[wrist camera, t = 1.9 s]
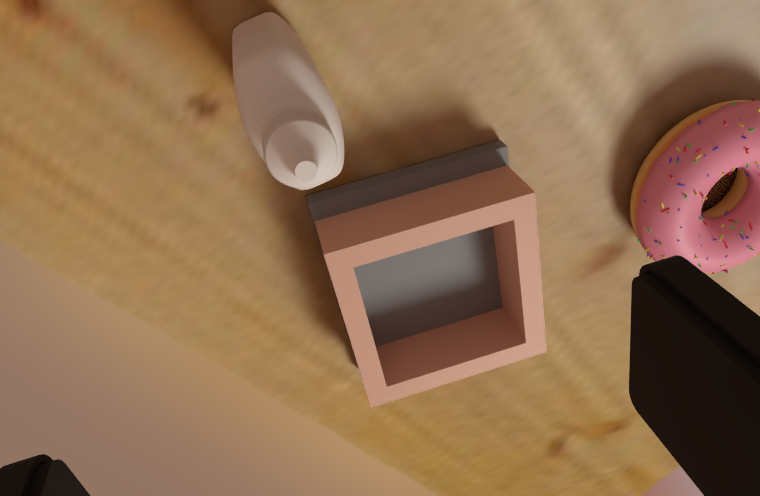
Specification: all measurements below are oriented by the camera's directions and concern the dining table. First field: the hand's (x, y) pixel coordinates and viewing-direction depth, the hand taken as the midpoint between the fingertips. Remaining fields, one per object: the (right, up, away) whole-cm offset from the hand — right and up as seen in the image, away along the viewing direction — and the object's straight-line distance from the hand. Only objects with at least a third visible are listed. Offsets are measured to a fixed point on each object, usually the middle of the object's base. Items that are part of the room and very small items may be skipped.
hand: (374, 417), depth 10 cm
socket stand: (+3, +2, +26) cm, 26 cm away
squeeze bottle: (-5, +11, +19) cm, 22 cm away
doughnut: (+20, +7, +27) cm, 35 cm away
